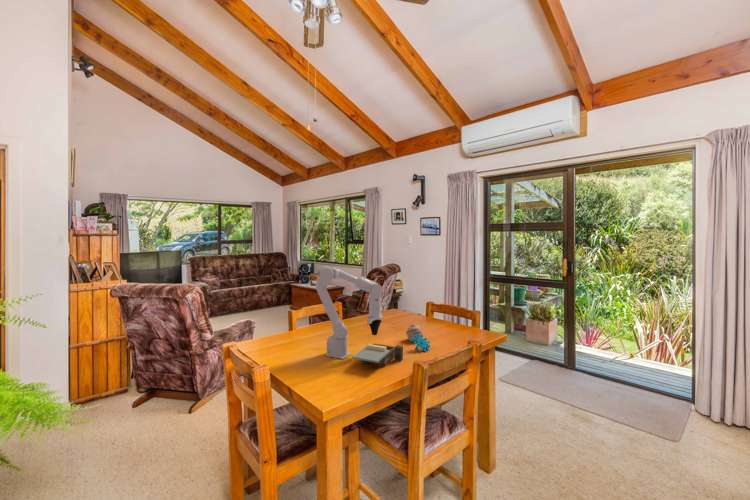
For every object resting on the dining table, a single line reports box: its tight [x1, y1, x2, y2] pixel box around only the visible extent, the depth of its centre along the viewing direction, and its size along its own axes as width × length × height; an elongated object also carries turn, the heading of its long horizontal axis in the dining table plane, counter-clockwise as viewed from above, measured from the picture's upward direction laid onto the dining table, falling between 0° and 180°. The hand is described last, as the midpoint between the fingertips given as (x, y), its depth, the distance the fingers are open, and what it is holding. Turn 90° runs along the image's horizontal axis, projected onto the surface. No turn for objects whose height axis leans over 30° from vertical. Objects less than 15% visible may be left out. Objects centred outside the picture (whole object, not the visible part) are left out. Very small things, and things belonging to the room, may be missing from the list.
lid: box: [351, 343, 390, 363], centre depth 158 cm, size 12×15×2 cm
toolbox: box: [360, 343, 396, 368], centre depth 167 cm, size 12×15×4 cm
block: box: [394, 344, 404, 362], centre depth 166 cm, size 3×3×6 cm
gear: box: [413, 334, 432, 353], centre depth 182 cm, size 11×6×10 cm
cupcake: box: [405, 322, 423, 343], centre depth 195 cm, size 9×9×10 cm
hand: (374, 334), depth 174 cm, fingers closed
